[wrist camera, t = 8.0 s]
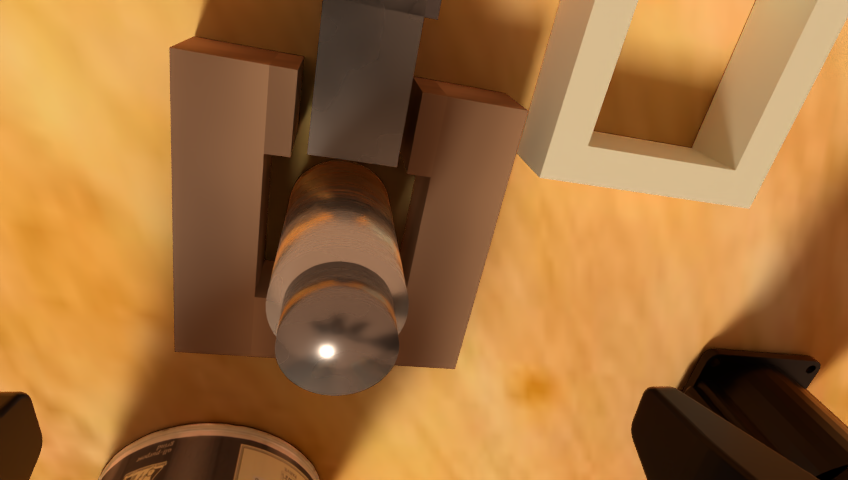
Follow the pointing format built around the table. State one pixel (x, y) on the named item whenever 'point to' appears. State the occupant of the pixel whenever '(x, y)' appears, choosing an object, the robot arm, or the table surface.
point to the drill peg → (337, 282)
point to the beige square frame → (724, 122)
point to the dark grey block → (365, 77)
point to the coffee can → (209, 456)
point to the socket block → (275, 135)
